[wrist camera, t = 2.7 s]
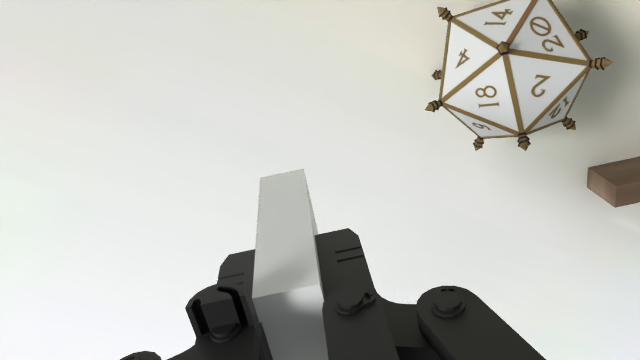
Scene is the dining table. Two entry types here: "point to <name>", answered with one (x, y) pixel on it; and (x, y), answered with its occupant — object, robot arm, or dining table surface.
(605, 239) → the dining table surface
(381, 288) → the dining table surface
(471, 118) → the game die
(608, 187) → the brown wooden bar
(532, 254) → the dining table surface
